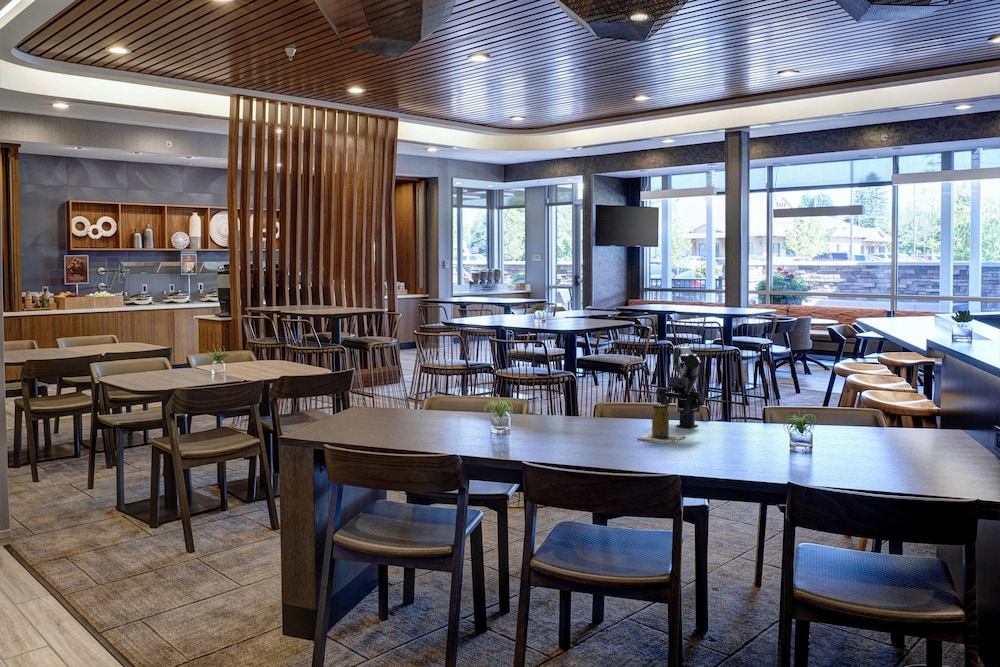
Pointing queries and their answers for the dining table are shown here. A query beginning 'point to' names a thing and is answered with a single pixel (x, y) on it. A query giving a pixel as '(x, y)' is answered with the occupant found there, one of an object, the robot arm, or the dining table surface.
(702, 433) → the dining table surface
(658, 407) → the condiment
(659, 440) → the serving board
